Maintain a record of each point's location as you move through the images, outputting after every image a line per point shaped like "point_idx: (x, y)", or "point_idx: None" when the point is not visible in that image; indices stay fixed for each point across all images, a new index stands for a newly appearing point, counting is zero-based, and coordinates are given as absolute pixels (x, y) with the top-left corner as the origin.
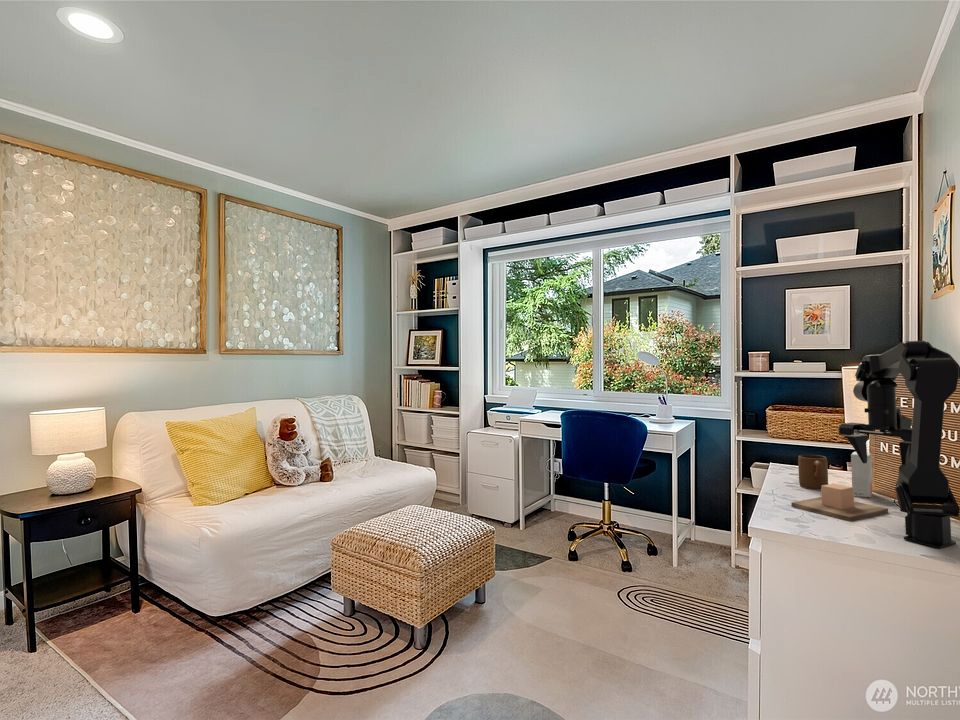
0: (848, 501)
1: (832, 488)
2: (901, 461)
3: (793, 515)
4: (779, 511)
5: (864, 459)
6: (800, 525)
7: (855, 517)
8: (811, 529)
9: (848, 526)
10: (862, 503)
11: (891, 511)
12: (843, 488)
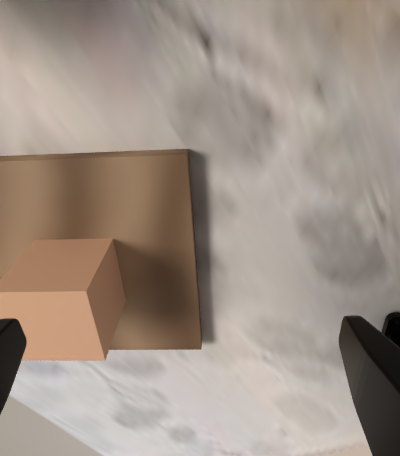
0: (112, 282)
1: (70, 358)
2: (363, 429)
3: (102, 394)
4: (58, 393)
5: (7, 368)
6: (176, 434)
7: (200, 323)
8: (208, 437)
9: (232, 374)
10: (82, 164)
11: (180, 113)
12: (92, 339)
